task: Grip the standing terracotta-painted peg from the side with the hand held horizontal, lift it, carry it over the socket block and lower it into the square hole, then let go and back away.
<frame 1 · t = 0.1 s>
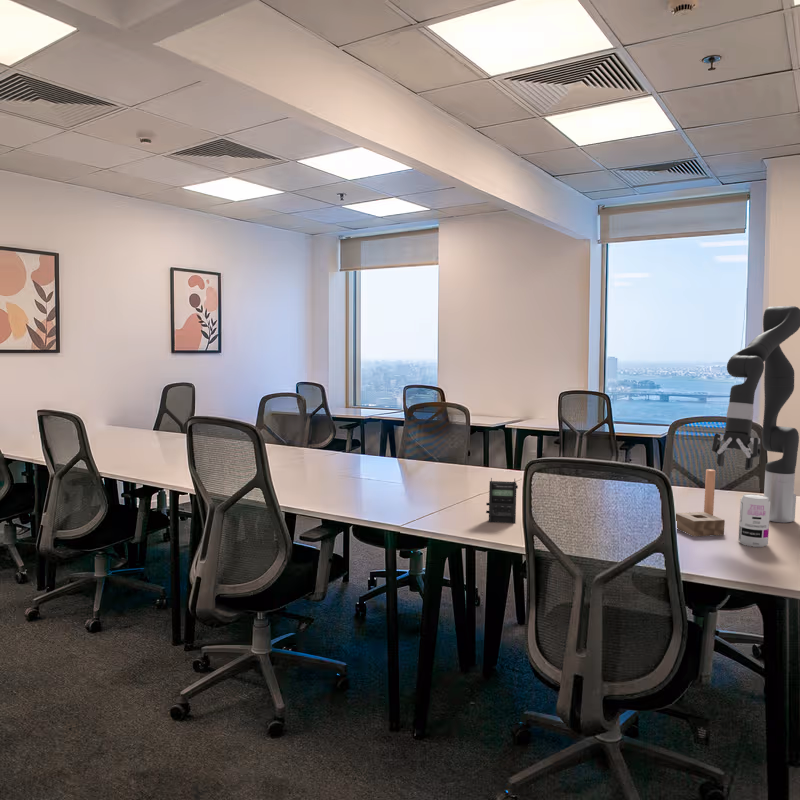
hand: (733, 468, 223), 22 cm above the table, tool pointing down, fingers open, 8 cm apart
peg: (708, 520, 245), on the table
socket block: (698, 531, 231), on the table
geiger counter: (501, 522, 240), on the table
supplement can: (752, 544, 217), on the table
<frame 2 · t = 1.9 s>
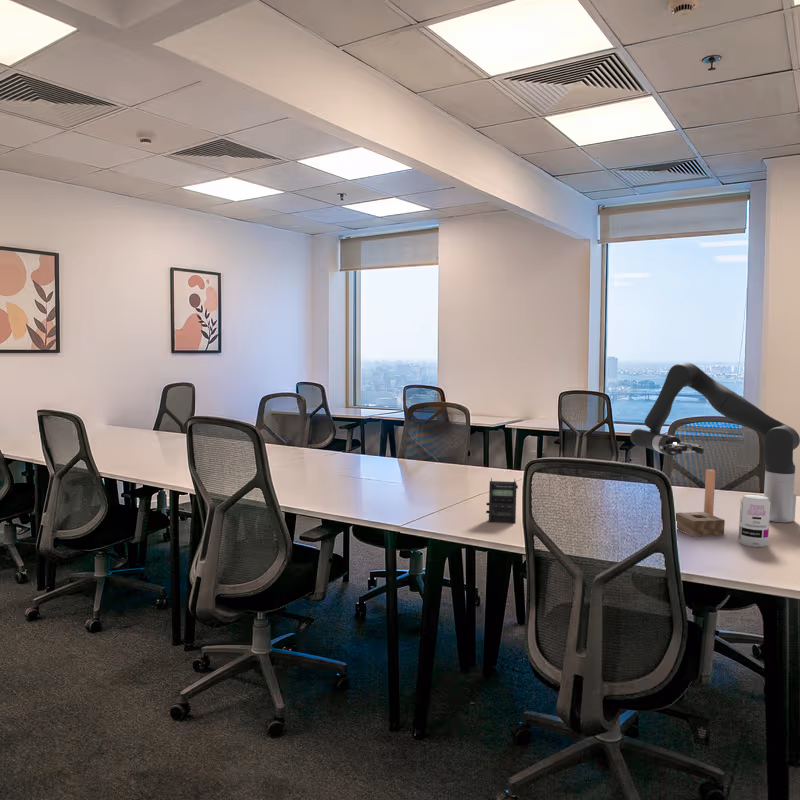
hand: (692, 451, 254), 23 cm above the table, tool horizontal, fingers open, 8 cm apart
nothing on the table moved.
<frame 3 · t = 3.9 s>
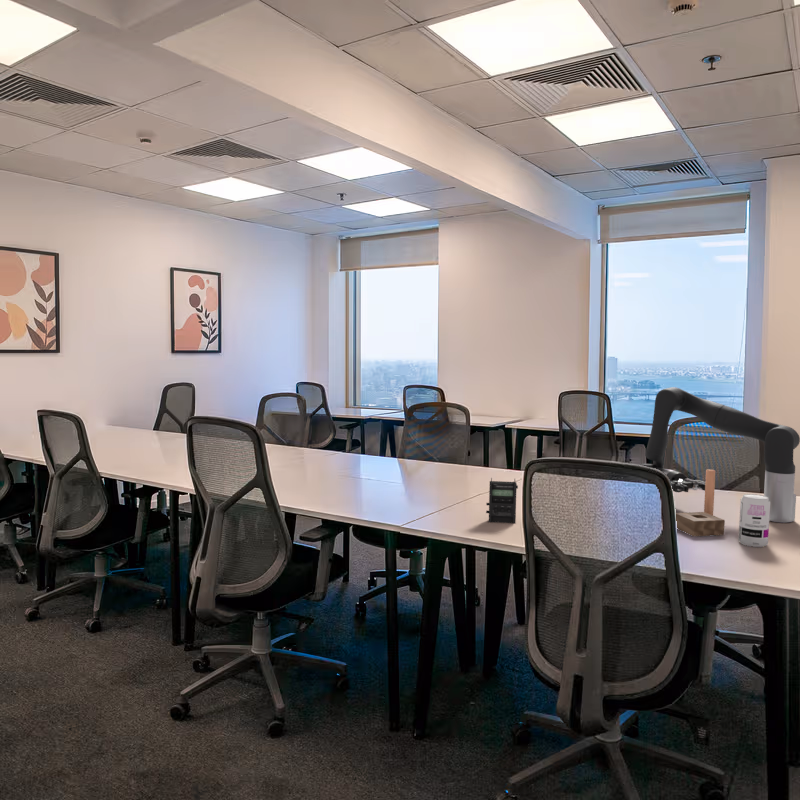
hand: (698, 489, 251), 10 cm above the table, tool horizontal, fingers open, 8 cm apart
nothing on the table moved.
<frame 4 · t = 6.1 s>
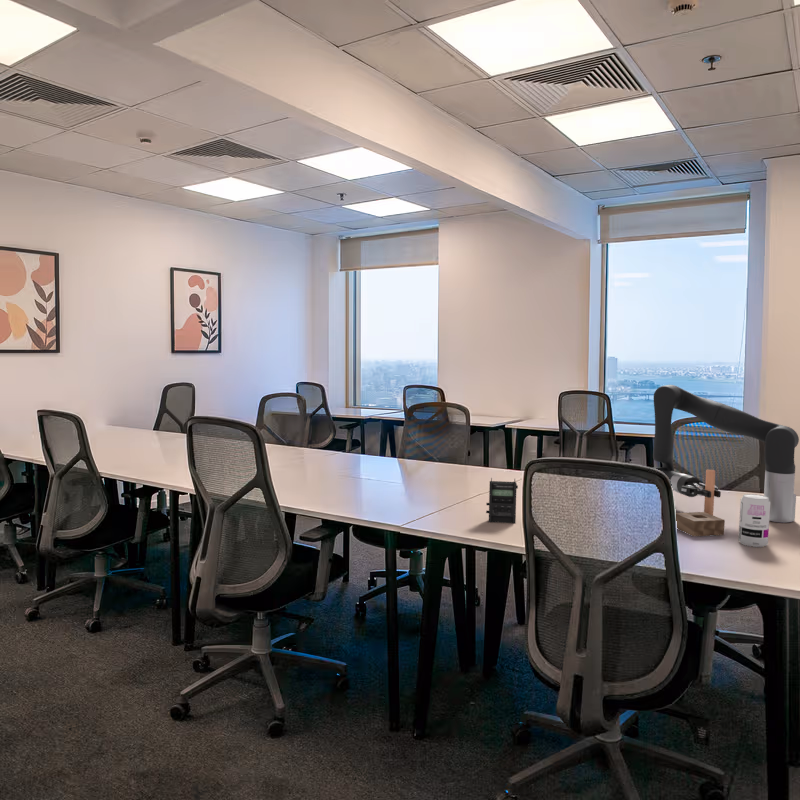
hand: (714, 494, 241), 10 cm above the table, tool horizontal, fingers closed on peg, 3 cm apart
peg: (708, 520, 245), on the table, touching gripper
everything else where it was.
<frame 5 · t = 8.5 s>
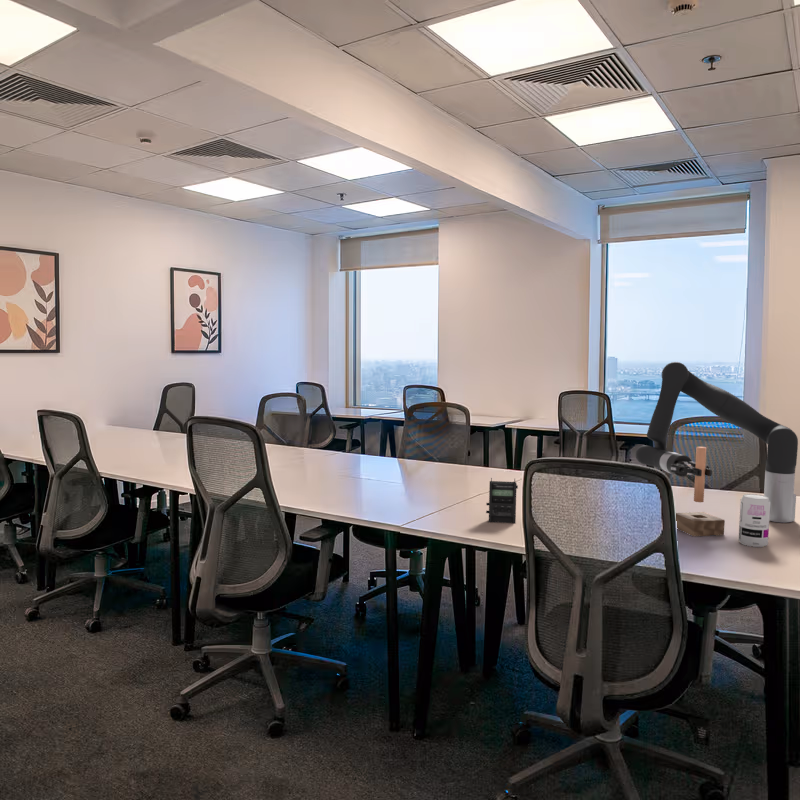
hand: (705, 473, 227), 20 cm above the table, tool horizontal, fingers closed on peg, 3 cm apart
peg: (698, 501, 231), point 10 cm above the table, touching gripper
everything else where it was.
when the fingers open (11 cm above the table, at t = 10.9 s): peg drops 1 cm, resting in socket block.
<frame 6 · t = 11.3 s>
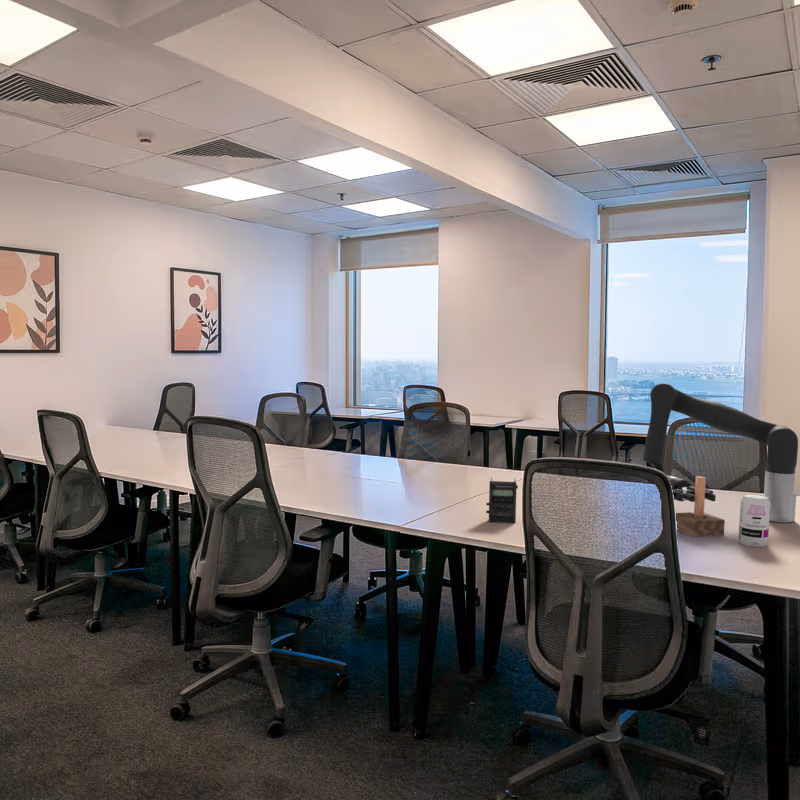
hand: (704, 498, 228), 12 cm above the table, tool horizontal, fingers open, 7 cm apart
peg: (698, 531, 231), resting in socket block
everything else where it was.
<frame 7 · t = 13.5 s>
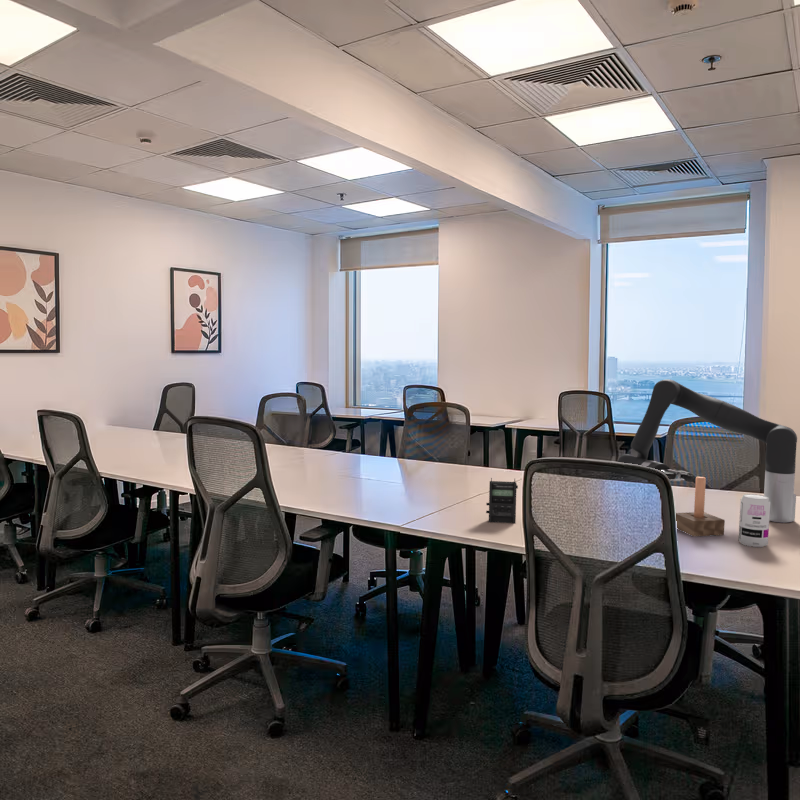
hand: (680, 479, 241), 15 cm above the table, tool horizontal, fingers open, 8 cm apart
nothing on the table moved.
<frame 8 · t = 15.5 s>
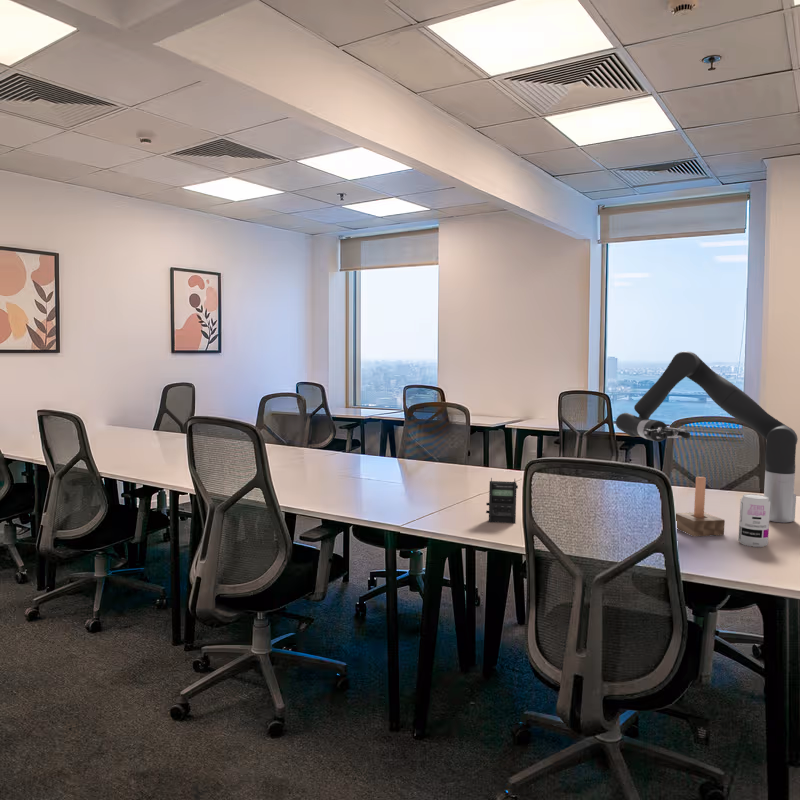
hand: (677, 435, 242), 30 cm above the table, tool horizontal, fingers open, 8 cm apart
nothing on the table moved.
at the end: peg 0.1 cm off-centre on the socket block, point 0.0 cm above the socket block's base; peg tilted 0°; the gripper is holding nothing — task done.
